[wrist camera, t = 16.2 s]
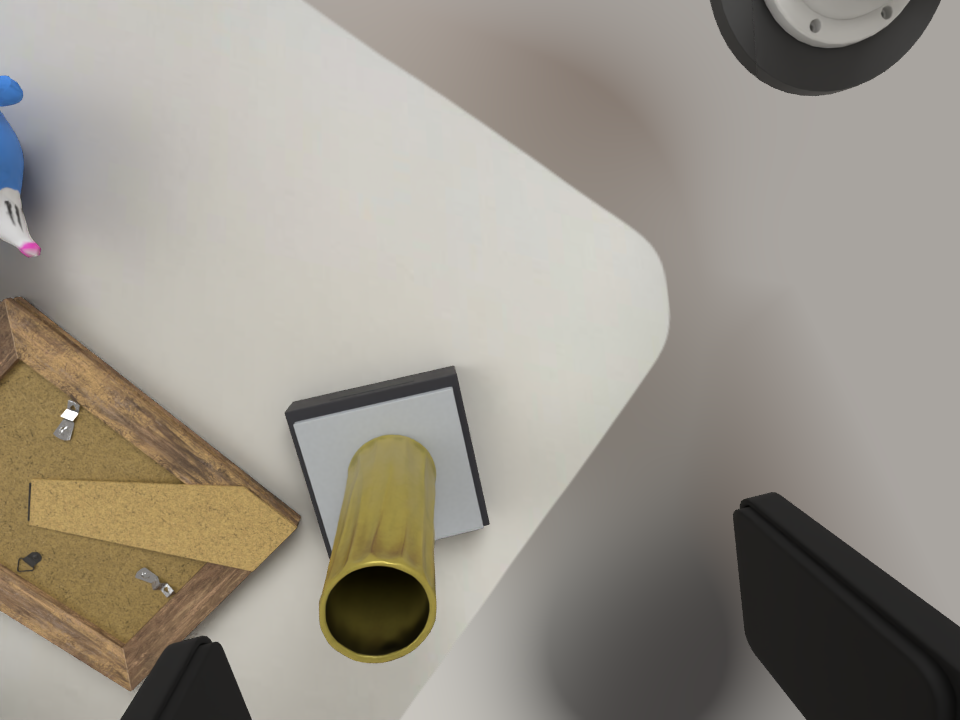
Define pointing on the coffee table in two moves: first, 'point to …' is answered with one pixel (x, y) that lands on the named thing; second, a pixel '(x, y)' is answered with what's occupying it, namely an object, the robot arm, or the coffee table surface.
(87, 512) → the picture frame
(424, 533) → the vase
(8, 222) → the blue mole toy
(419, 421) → the scale
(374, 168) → the coffee table surface
